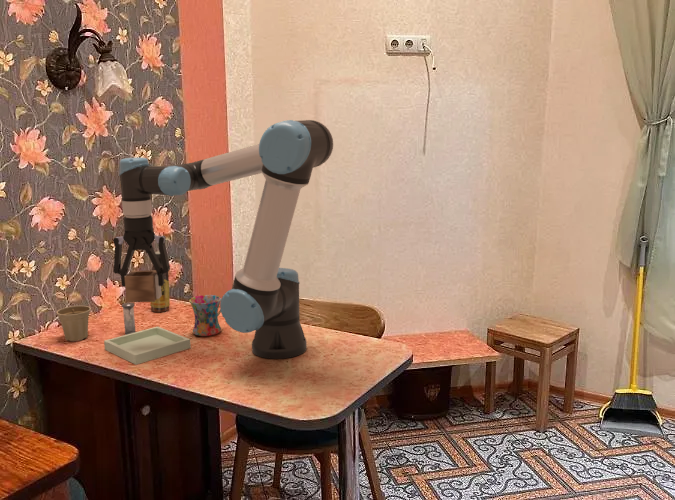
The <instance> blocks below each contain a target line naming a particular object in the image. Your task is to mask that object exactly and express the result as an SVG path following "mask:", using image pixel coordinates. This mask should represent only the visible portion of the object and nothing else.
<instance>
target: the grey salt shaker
mask: <svg viewBox="0 0 675 500" xmlns="http://www.w3.org/2000/svg"><path fill="white" fill-rule="evenodd" d="M134 307H135V302H124V303H122V304H121V308H122V310H123V311H122V312H123V322H124V335H127V334H131V333H135V332H136V322H135V309H134Z"/></svg>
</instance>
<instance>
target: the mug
mask: <svg viewBox="0 0 675 500" xmlns="http://www.w3.org/2000/svg"><path fill="white" fill-rule="evenodd" d="M221 299H222V297H220V296H219V295H215V294H214V295H213V294H205V295H204V294H203V295H196V296H193V297H191V298H189V300H188V301H189V303H190V306H191V308H192V310H193V314H194V315H193V316H194V326H193V329H192V334H194V335H196V336H200V337H209V336H210V337H211V336H215V335H217V334H219V333H220V332H221V331H222V327H221V325H220V323H219V316H220V315H221V314H222V313H221V309H219V308H220V307H219V306H220V303H221Z"/></svg>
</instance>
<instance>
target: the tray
mask: <svg viewBox="0 0 675 500" xmlns="http://www.w3.org/2000/svg"><path fill="white" fill-rule="evenodd" d="M103 342H104V343H103V345H104V351H107V352H109V353H111V354H114V355H115V356H117V357H120V358H121V359H123V360H126V361H127V362H129V363H131V364H133V365H136V366H137V365H140V364H143V363H147V362H149V361H152V360H157V359H159V358H162V357H165V356H169V355H172V354H176V353H179V352H183V351H186V350H188V349H191V345H192V344H191V339H190V338H188V337H186V336H183V335H181V334H177V333H176V332H174V331H171V330H167V329H165V328H163V327H160V326H155V327H151V328H147V329H142V330H139V331H135V333H131V334H127V335H126V334H123V335H121V336H115V337H113V338H109V339H105V340H104V341H103Z"/></svg>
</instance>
